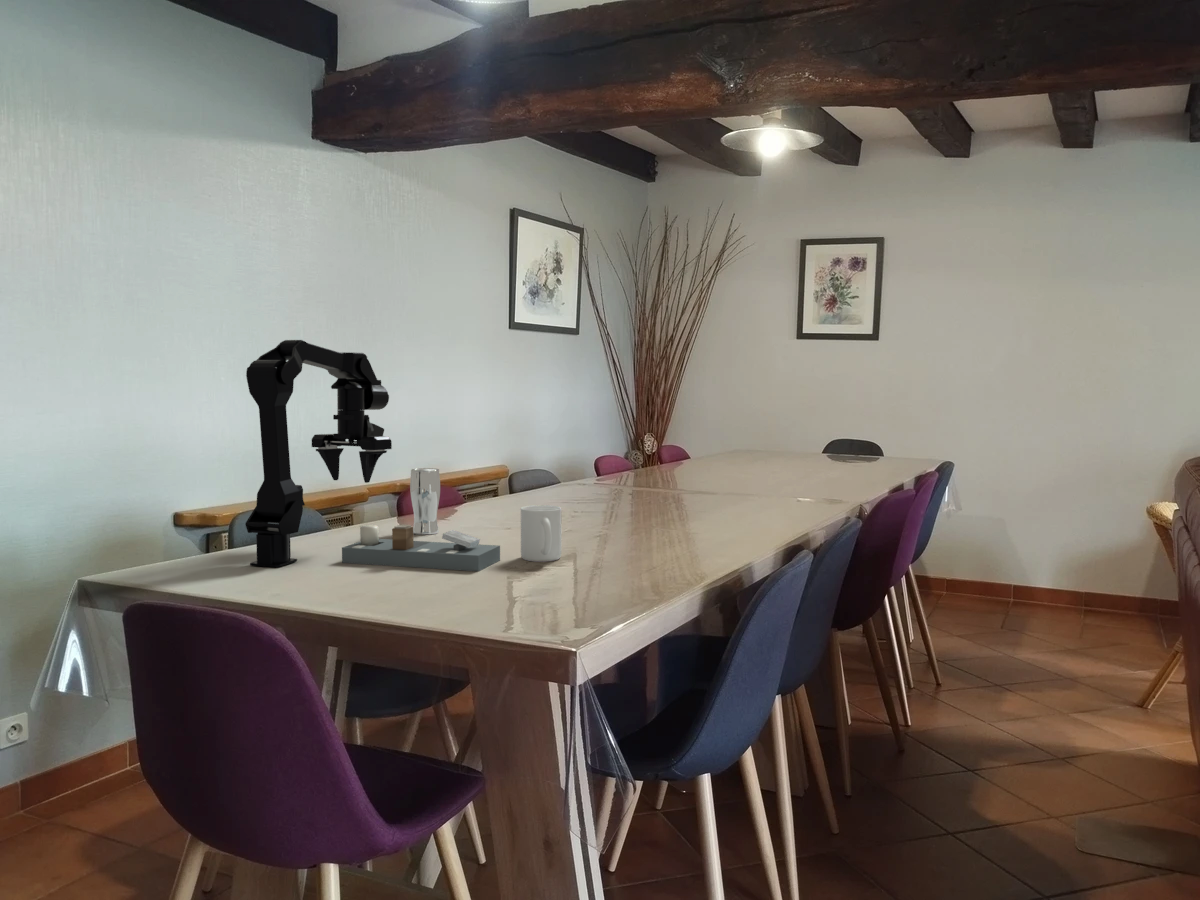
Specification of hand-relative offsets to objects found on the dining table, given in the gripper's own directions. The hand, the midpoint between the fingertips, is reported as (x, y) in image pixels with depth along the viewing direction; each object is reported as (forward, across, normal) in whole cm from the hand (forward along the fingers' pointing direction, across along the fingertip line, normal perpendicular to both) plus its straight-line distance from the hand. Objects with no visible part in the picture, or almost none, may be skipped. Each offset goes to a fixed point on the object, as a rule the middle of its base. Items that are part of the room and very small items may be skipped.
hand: (351, 481), depth 202 cm
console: (+14, -26, +8) cm, 31 cm away
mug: (+14, -46, -6) cm, 49 cm away
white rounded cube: (+11, -15, +11) cm, 22 cm away
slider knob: (+11, -25, +11) cm, 29 cm away
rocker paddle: (+9, -35, +6) cm, 36 cm away
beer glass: (+14, -5, -19) cm, 24 cm away
